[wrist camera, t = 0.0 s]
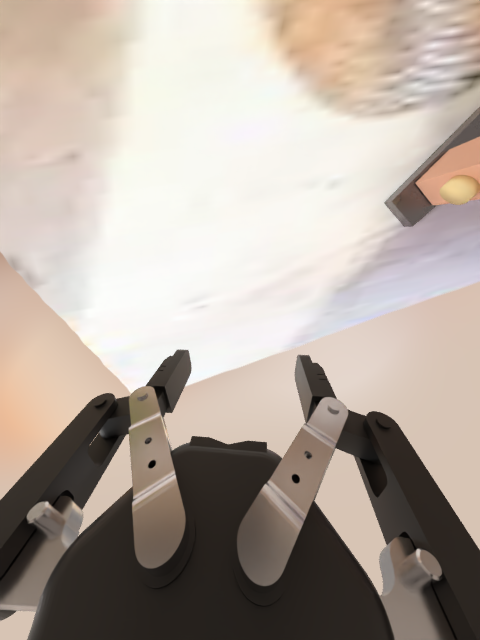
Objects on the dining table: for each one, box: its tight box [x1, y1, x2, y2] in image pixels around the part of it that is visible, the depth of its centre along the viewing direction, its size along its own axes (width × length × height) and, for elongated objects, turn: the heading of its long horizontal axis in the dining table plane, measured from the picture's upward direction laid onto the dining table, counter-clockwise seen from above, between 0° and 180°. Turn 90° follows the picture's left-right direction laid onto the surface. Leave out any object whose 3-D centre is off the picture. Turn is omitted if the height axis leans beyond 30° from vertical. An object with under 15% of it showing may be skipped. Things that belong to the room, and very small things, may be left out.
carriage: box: [416, 137, 480, 205], centre depth 23 cm, size 6×5×11 cm
